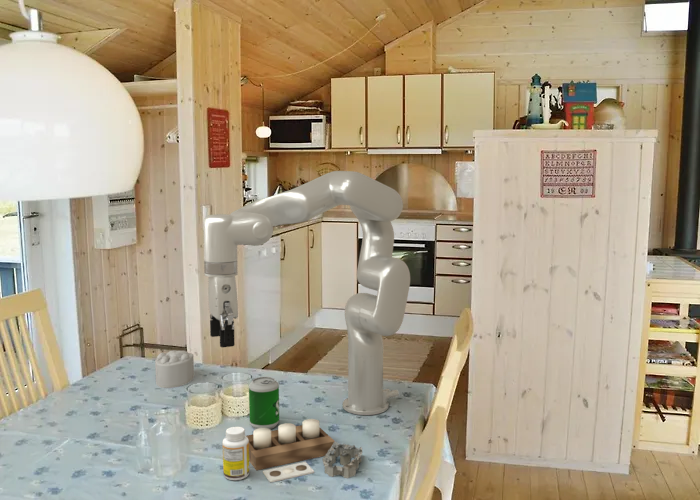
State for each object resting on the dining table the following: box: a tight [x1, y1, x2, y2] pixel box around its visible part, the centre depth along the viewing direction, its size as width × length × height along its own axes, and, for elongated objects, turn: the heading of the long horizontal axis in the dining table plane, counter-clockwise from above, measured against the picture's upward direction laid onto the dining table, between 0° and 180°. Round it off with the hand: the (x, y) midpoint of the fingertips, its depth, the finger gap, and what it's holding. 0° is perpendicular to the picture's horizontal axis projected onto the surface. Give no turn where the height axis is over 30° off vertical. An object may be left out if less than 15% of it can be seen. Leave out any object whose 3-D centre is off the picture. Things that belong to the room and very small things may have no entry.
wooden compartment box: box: [245, 424, 336, 471], centre depth 152 cm, size 19×12×3 cm, turn 116°
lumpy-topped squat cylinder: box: [154, 350, 195, 389], centre depth 200 cm, size 10×13×9 cm
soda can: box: [248, 376, 280, 430], centre depth 166 cm, size 8×8×12 cm
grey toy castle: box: [322, 441, 363, 479], centre depth 145 cm, size 11×8×4 cm
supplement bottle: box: [221, 426, 250, 481], centre depth 140 cm, size 6×6×10 cm
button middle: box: [277, 422, 297, 445], centre depth 152 cm, size 4×4×4 cm
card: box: [262, 461, 315, 483], centre depth 142 cm, size 10×5×1 cm, turn 116°
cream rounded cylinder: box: [252, 428, 272, 450], centre depth 149 cm, size 4×4×4 cm
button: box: [301, 418, 320, 440], centre depth 154 cm, size 4×4×4 cm
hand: (222, 341), depth 152 cm, fingers open, 9 cm apart
